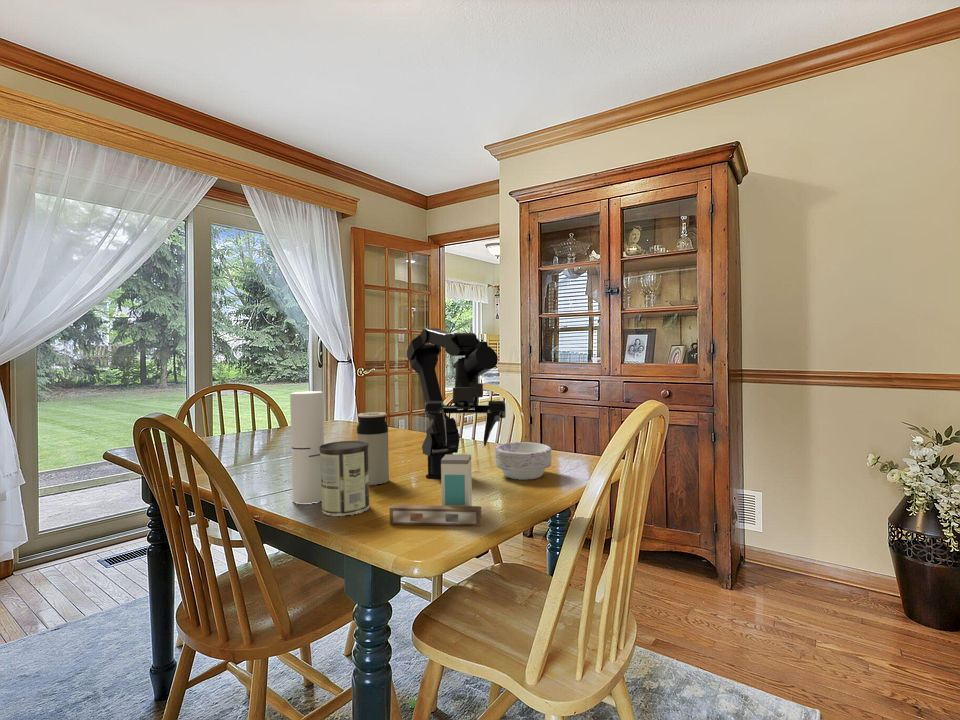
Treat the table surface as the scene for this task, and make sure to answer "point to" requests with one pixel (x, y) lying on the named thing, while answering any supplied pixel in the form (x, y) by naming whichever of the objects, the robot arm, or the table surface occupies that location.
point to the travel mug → (375, 445)
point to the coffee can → (344, 477)
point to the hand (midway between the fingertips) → (464, 445)
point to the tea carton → (456, 480)
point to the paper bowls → (523, 459)
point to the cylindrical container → (306, 445)
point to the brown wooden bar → (435, 515)
